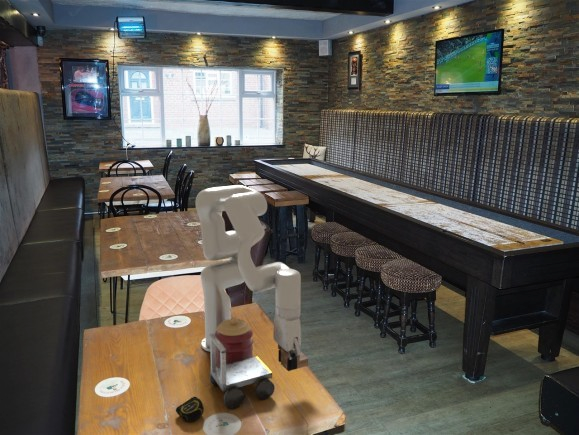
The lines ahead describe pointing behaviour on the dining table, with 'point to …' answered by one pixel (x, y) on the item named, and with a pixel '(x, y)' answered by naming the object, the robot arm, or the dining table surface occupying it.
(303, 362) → the block
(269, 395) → the trolley
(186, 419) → the tape measure
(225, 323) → the canister
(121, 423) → the dining table surface
